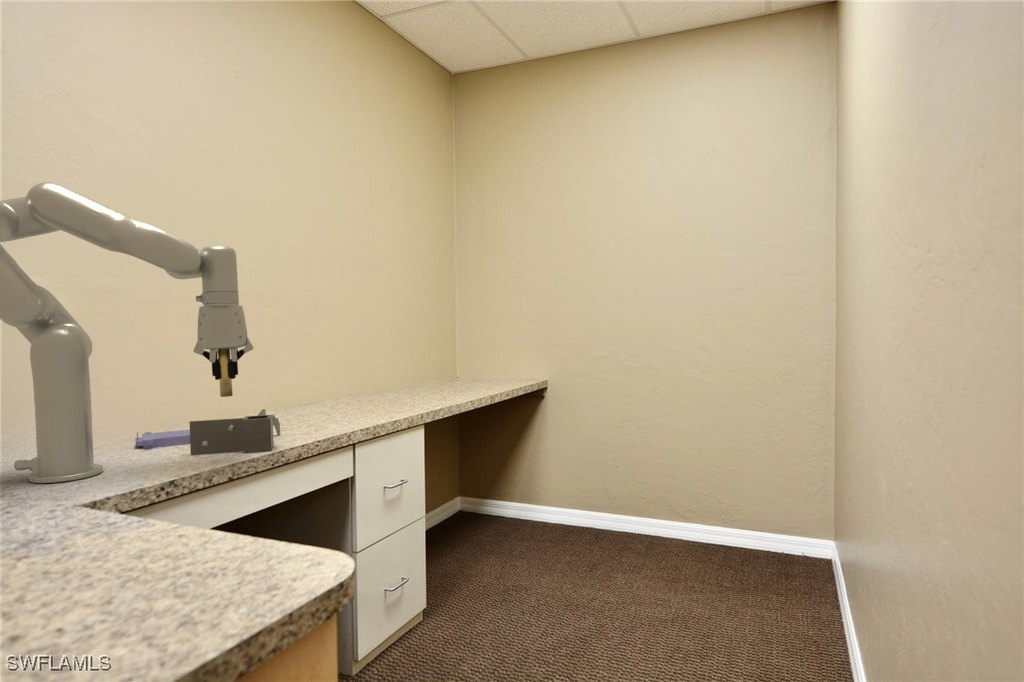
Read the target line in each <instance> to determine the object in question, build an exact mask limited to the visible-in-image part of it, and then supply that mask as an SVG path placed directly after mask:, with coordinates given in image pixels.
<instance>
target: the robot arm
mask: <svg viewBox="0 0 1024 682" xmlns="http://www.w3.org/2000/svg"><path fill="white" fill-rule="evenodd" d="M59 231H63V232H65V233H67V234H69V235H71V236H73V237H76V238H78V239H81V240H83V241H86V242H88V243H90V244H92V245H94V246H97V247H99V248H101V249H104V250H107V251H109V252H113V253H114V252H115V253H121V254H125V255H127V256H131V257H133V258H136V259H138V260H141V261H144V262H146V263H149V264H151V265H153V266H155V267H158V268H160V269H163V270H164V271H165V273H167V275H169V276H170V277H171V278H174V279H176V280H177V279H178V280H190V279H198V278H201V286H202V287H201V288H202V289H201V290H202V292H201V294H199V295H196V296H195V302H197V303H198V302H199V303H202V305H203V306H199V307H198V315H197V341H196V343H195V345H194V347H193V350H192V351H193V352H194V353H195V354H197V355H200V356H203V357H204V358H206V359H207V360H208V361H209V362H210V363H211V371H212V372H211V374H212V377H214V379H215V381H219V363H218V349H227V348H230V359H231V362H230V363H229V365H230V378H231V379H232V380H234V379H236V377H237V376H238V375H239V366H238V361H239V360H240V359H241V358H242V357H243V356H244V355H245V354H247V353H249V352H250V351H251V352H252V351H253V350H254V349H255V348H254V346H253V344H252V342H251V340H250V339H249V337H248V331H247V323H246V316H245V312H244V309H243V305H240V300H239V299H240V298H239V283H238V281H239V280H238V263H237V262H238V261H237V253H236V251H235V249H234V248H232V247H229V246H225V245H223V246H221V245H219V246H218V245H213V246H206V247H203V248H202V249H201V248H196V247H195V246H194V245H193V244H191V243H190V242H188V241H186V240H183V238H179V237H177V236H175V235H172V234H171V233H168V232H167V231H164V230H161V229H160V228H157V227H155V226H153V225H150V224H148V223H145V222H143V221H141V220H138V219H136V218H134V217H131V216H130V215H126V214H124V213H122V212H120V211H118V210H116V209H113V208H111V207H109V206H107V205H104V204H103V203H100V202H98V201H96V200H94V199H91V198H90V197H87V196H85V195H83V194H81V193H78V192H76V191H75V190H72V189H70V188H68V187H66V186H63V185H61V184H58V183H54V182H48V181H47V182H44V181H43V182H39V183H37V184H34V186H32V187H31V188H30V189H29V190H28V191H27V193H26V195H25V196H19V197H16V198H15V197H14V198H8V199H1V200H0V321H2V322H3V323H5V324H6V325H8V326H10V327H14V328H16V329H17V331H19V332H20V333H21V335H22V336H23V337H24V338H25V339H26V340H27V341H28V342H29V343H30V347H29V348H30V349H29V360H30V361H29V362H30V368H31V377H32V385H33V386H32V387H33V400H34V402H33V403H34V417H35V419H34V420H35V438H36V439H35V440H36V442H35V443H36V456H35V457H32V458H31V459H20V460H19V459H18V460H15V461H14V466H13V467H14V469H15V470H16V471H27V470H29V471H31V473H29V474H28V476H27V478H28V482H30V483H33V484H47V483H48V484H51V483H62V482H68V481H69V482H71V481H74V480H75V481H77V480H81V479H86V478H90V477H93V476H96V475H99V474H101V473H102V472H103V471H104V466H103V465H102V464H100V463H99V464H98V463H94V462H95V461H94V439H93V417H92V398H91V396H92V395H91V394H92V393H91V380H90V379H91V377H90V364H89V362H90V361H89V358H91V354H92V352H93V342H92V339H91V337H90V335H89V334H88V332H86V330H85V329H84V327H82V325H80V324H79V322H78V321H77V320H76V319H75V317H73V316H72V314H70V313H69V311H68V310H67V309H66V307H64V305H63V304H62V303H61V302H60V301H59V300H58V299H57V297H56V296H54V294H53V293H52V292H50V290H48V289H46V288H45V287H43V286H41V285H38V284H37V283H36V282H34V280H33V279H31V277H30V276H29V275H28V274H27V273H26V272H25V271H24V270H23V269H22V267H21V266H20V265H19V264H18V262H17V261H16V260H15V258H14V257H13V256H11V255H10V253H9V252H8V251H7V250H6V249H5V248H4V246H3V245H2V244H1V243H4V242H5V243H6V242H11V241H16V240H21V239H26V238H30V237H36V236H37V237H38V236H40V235H41V236H42V235H46V234H50V233H55V232H59ZM239 348H241V349H239Z"/></svg>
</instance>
